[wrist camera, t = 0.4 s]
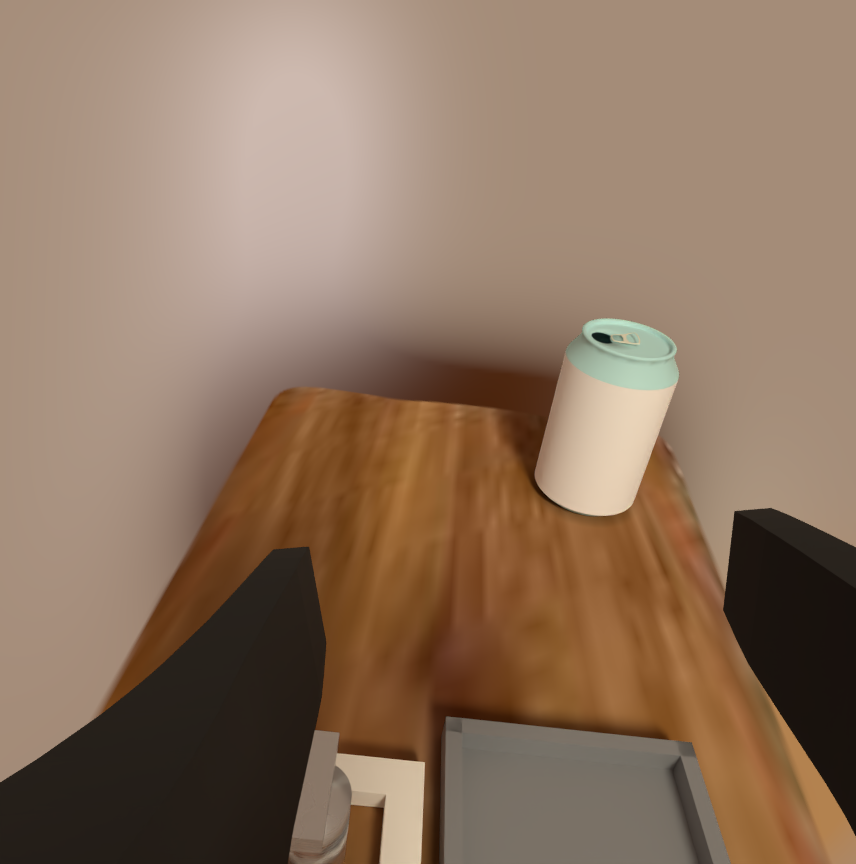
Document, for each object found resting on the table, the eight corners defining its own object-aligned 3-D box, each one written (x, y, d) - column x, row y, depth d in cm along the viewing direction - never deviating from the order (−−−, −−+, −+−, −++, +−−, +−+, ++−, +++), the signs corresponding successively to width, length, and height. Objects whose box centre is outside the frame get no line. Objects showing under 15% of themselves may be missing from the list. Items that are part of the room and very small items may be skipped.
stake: (336, 927, 24) (345, 842, 20) (267, 920, 23) (266, 835, 20) (349, 822, 27) (359, 734, 24) (288, 816, 26) (291, 727, 23)
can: (578, 535, 43) (630, 370, 37) (512, 474, 48) (549, 319, 42) (652, 508, 47) (712, 353, 40) (584, 454, 52) (628, 308, 45)
